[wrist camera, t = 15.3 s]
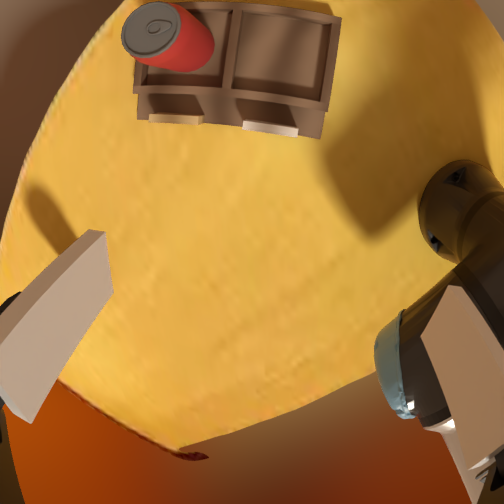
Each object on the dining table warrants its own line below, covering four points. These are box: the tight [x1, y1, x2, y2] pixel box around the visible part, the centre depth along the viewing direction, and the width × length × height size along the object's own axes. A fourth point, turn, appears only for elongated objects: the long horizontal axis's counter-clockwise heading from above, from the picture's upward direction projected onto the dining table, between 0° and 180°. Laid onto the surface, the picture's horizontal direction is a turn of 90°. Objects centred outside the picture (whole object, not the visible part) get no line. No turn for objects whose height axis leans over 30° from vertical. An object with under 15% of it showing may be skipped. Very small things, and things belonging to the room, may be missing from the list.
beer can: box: [121, 1, 215, 72], centre depth 24 cm, size 7×7×12 cm
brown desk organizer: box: [133, 2, 342, 139], centre depth 29 cm, size 23×16×4 cm
